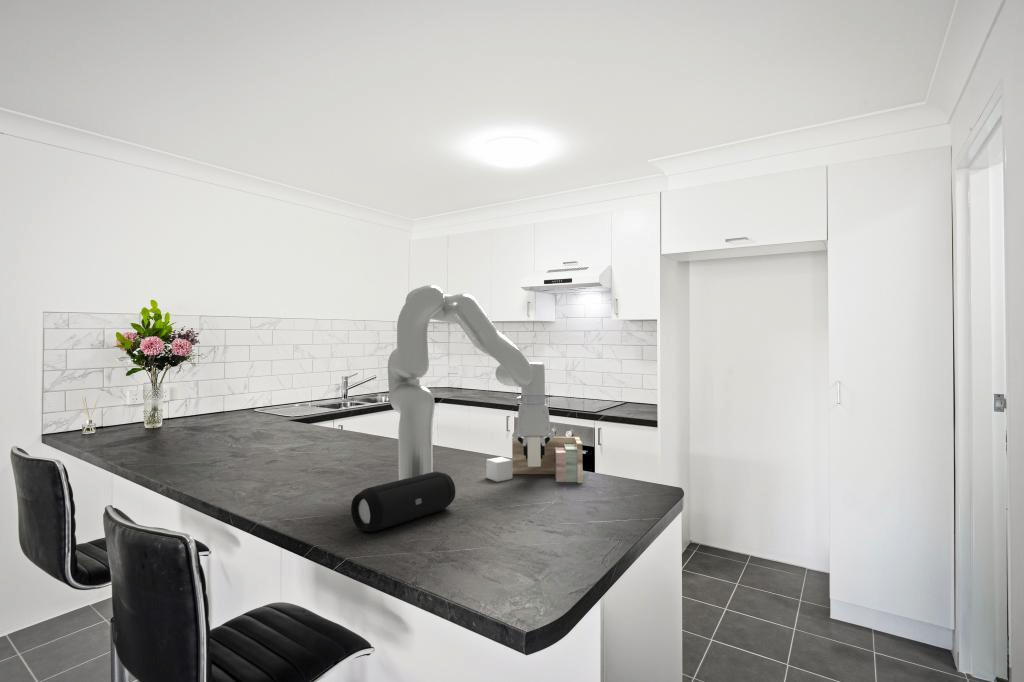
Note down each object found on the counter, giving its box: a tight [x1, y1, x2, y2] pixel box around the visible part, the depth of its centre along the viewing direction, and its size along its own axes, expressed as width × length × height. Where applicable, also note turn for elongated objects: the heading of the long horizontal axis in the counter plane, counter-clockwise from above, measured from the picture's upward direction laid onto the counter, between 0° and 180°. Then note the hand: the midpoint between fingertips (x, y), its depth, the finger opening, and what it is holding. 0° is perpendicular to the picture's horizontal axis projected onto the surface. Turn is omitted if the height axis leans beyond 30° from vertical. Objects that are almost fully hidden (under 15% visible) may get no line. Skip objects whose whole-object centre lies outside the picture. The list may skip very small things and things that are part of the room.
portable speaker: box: [350, 471, 456, 533], centre depth 130 cm, size 26×10×10 cm, turn 139°
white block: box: [527, 437, 541, 467], centre depth 169 cm, size 9×4×9 cm, turn 178°
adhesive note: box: [485, 456, 513, 483], centre depth 170 cm, size 6×6×6 cm
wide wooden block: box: [511, 436, 584, 484], centre depth 170 cm, size 12×22×12 cm, turn 88°
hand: (534, 457), depth 169 cm, fingers closed on white block, 4 cm apart
